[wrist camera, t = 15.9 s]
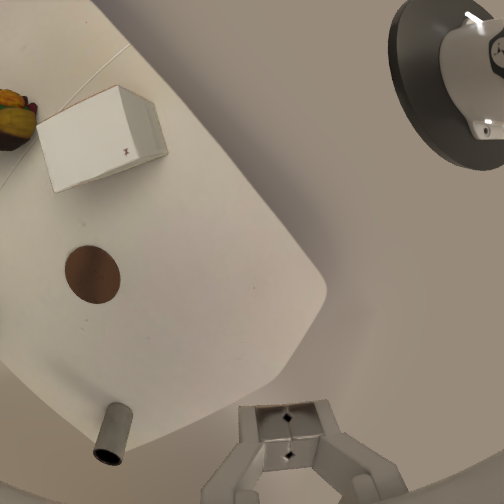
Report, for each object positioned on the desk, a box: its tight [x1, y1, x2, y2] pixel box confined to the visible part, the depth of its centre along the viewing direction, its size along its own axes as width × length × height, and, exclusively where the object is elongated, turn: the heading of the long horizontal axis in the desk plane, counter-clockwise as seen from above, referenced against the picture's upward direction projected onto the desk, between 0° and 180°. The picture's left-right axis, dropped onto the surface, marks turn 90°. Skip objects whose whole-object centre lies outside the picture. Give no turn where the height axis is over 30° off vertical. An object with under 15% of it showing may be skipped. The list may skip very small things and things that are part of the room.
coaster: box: [65, 246, 120, 304], centre depth 38 cm, size 8×8×1 cm
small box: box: [36, 85, 168, 193], centre depth 27 cm, size 8×6×13 cm
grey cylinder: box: [93, 403, 133, 466], centre depth 41 cm, size 4×4×10 cm
